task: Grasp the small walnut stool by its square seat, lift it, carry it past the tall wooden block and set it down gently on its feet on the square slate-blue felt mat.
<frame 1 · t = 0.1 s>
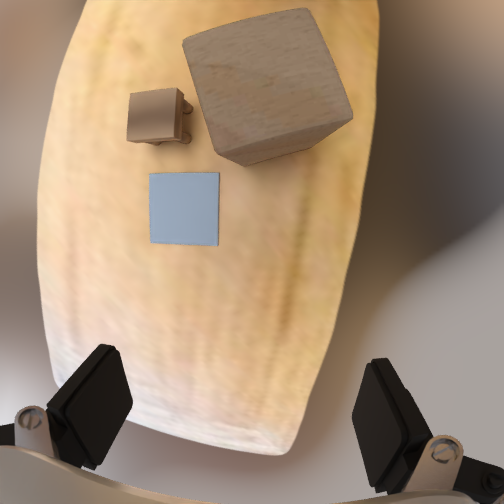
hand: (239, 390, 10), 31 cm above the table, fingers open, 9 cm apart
wooden block: (266, 122, 36), on the table
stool: (172, 124, 37), on the table
mat: (183, 208, 40), on the table
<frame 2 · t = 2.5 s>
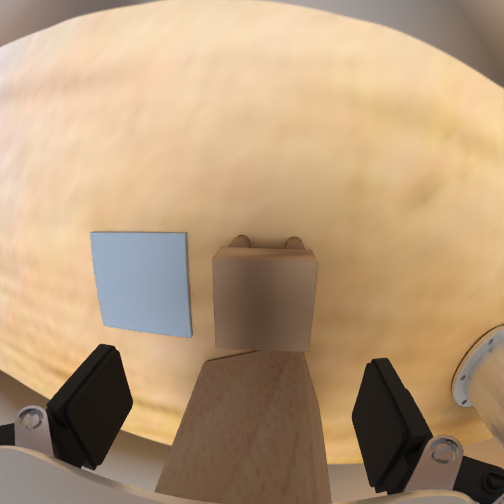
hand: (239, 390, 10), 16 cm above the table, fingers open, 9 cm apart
wooden block: (264, 386, 28), on the table
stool: (267, 269, 25), on the table
mat: (140, 283, 26), on the table
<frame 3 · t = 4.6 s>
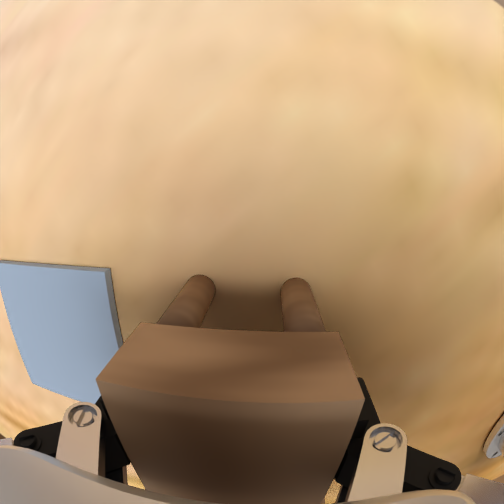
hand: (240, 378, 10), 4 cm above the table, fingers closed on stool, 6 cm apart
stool: (247, 332, 14), on the table, touching gripper
mat: (61, 338, 15), on the table
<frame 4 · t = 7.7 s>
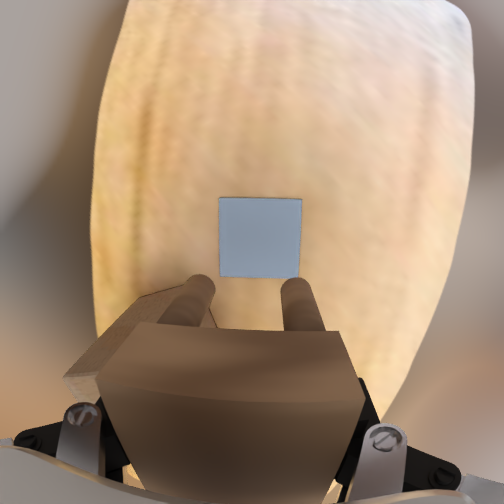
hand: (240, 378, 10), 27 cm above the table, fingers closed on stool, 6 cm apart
wooden block: (180, 319, 40), on the table
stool: (247, 332, 14), point 23 cm above the table, touching gripper
mat: (259, 238, 36), on the table
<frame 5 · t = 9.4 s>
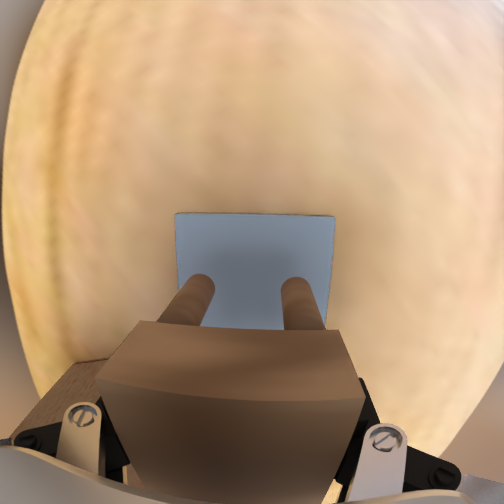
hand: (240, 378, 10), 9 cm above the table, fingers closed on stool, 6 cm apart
wooden block: (134, 398, 23), on the table
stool: (247, 331, 14), point 6 cm above the table, touching gripper
mat: (253, 288, 19), on the table
when the fingers open (6 cm above the table, at t = 10.6 s): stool drops 1 cm, resting on mat.
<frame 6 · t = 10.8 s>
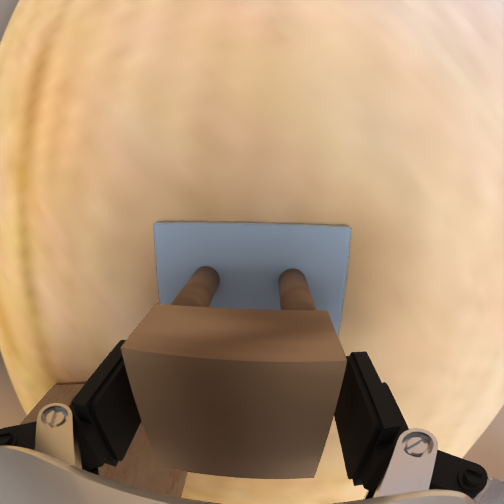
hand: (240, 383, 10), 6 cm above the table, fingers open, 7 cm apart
wooden block: (120, 422, 20), on the table
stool: (248, 318, 15), point 1 cm above the table, touching mat
mat: (250, 312, 16), on the table
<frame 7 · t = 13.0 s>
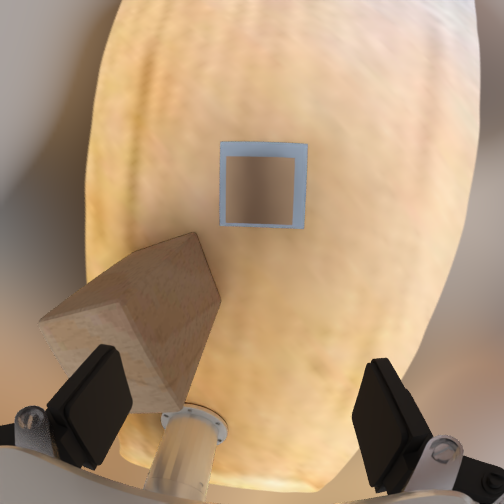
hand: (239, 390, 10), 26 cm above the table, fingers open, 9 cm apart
wooden block: (175, 276, 38), on the table
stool: (262, 185, 33), point 1 cm above the table, touching mat
mat: (262, 184, 33), on the table
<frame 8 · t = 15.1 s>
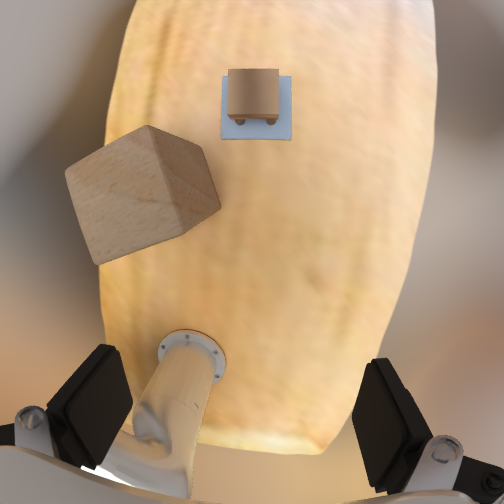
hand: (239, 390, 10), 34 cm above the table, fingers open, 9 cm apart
wooden block: (181, 188, 42), on the table
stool: (255, 106, 38), point 1 cm above the table, touching mat
mat: (256, 106, 38), on the table
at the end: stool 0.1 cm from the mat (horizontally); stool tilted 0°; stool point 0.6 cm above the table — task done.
